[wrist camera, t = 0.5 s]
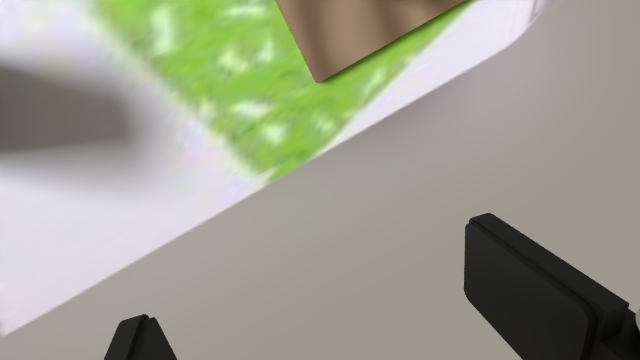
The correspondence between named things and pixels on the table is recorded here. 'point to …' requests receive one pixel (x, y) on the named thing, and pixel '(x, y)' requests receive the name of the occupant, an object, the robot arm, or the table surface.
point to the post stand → (352, 28)
